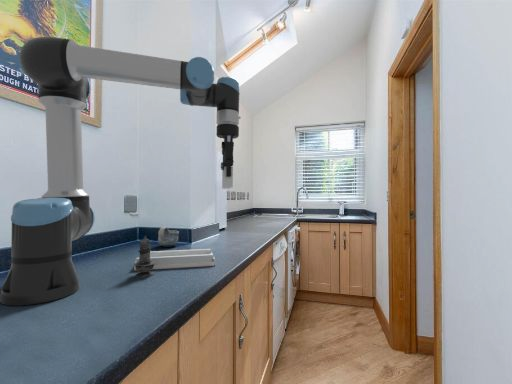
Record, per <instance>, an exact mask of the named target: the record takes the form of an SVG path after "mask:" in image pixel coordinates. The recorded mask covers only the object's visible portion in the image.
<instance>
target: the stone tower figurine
mask: <svg viewBox="0 0 512 384" xmlns="http://www.w3.org/2000/svg"><path fill="white" fill-rule="evenodd" d="M150 251H152V249H151V240H150V239H148V238H147V236H146V235H144V236H143V238H141V240H140V241H139V250H138V252H139V256H140V258H139V257H138V258H139V261H138V262H137V263H135V262H134V263H135V264H133V265H135V268H136V270H135V271H137V272H138V273H136V274H135V277H136V278H150V277H152V276H154V275H155V273H154V272H153V271H152V270H154V269H153V267H154V264H155V262H154V261H151V259H150Z"/></svg>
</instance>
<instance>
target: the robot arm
mask: <svg viewBox="0 0 512 384" xmlns="http://www.w3.org/2000/svg"><path fill="white" fill-rule="evenodd" d="M18 55H19V57H18V58H19V64H20V66H21V68H22V71H23V72H24V73H25V74H26V76H27V77H28V78H29V79H30V80H31V81H33V82H35V84H36V85H37V96H38V98H37V99H38V102H39V104H41V105H42V106H43V107H44V108H45V110H44V111H45V132H46V135H45V136H46V139H45V141H46V161H47V162H46V165H47V168H46V169H47V170H46V171H47V191H46V192H45V193H44V194H42V195H41V197H38V198H28V199H22V200H20V201H17V202H15V203H14V204H13V206H12V214H11V216H10V221H11V251H10V253H11V255H10V256H11V260H10V261H11V263H10V264H11V265H10V268H9V270H8V273H7V276H6V278H5V279H4V282H3V283H4V284H3V285H2V287H1V290H0V303H1V304H2V305H7V306H29V305H37V304H42V303H47V302H52V301H56V300H60V299H63V298H65V297H67V296H71V295H72V294H74V293H77V291H79V289H80V278H79V276H78V273H77V271H76V268H75V265H74V263H73V259H72V250H73V249H72V246H73V245H72V244H73V243H72V242H74V241H76V240H79V239H82V238H83V237H84V236H85V235H87V234H88V233H89V232H90V231H91V230H92V228H93V226H94V224H95V219H96V216H95V212H94V210H93V209H92V207H91V206H90V194H88V193H87V192H86V191H85V190H84V170H83V168H84V167H83V166H84V165H83V141H82V140H83V138H82V137H83V136H82V135H83V134H82V112H83V111H84V110H86V108H87V106H88V105H87V99H88V98H89V97H90V95H91V90H92V88H91V87H92V86H91V82H90V79H91V80H100V81H109V82H118V83H125V84H133V85H141V86H149V87H158V88H165V89H174V90H179V91H180V92H179V97H180V98H179V99H180V103H181V105H187V106H192V107H193V106H196V107H206V108H207V107H209V108H216V134H215V135H216V137H218V138H219V139H223V141H221V155H222V167H221V169H222V171H221V174H222V177H221V178H222V180H221V184H222V185H221V187H222V189H229V190H230V189H231V188H233V186H234V175H233V174H234V147H235V143H234V139H238V138H239V136H240V127H239V123H240V120H241V118H242V117H241V116H239V115H240V83H239V80H238V79H236V78H234V77H231V76H226V77H225V76H222V77H219V78H218V79H217V81H216V83H214V82H215V69H214V67H213V65H212V63H211V62H210V61H209V60H208V58H205V57H202V56H196V57H193V58H190V60H189V61H183V60H177V59H171V58H164V57H157V56H151V55H145V54H138V53H131V52H125V51H124V52H123V51H119V50H111V49H106V48H105V49H103V48H101V47H100V48H99V47H93V46H87V45H86V46H84V45H79V44H78V42H77V41H75V40H74V39H70V38H64V37H63V38H62V37H55V36H37V37H35V38H31V39H29V40H27V41H26V42H24V44H23V45H22V47H21V49H20V51H19V54H18Z"/></svg>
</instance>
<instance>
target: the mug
mask: <svg viewBox="0 0 512 384" xmlns="http://www.w3.org/2000/svg"><path fill="white" fill-rule="evenodd" d="M179 232H180V231H178V230H175V229H174V230H173V229H171V230H170V229H169V228H168V227H167V226H163V225H162V226H161V227H160V228H159V230H158V231H157V234H158V238H157V242H158V244H159V245H160V246H162V247H166V248H171V247H174V246H175V245H177V243H178V242H179V234H180V233H179Z"/></svg>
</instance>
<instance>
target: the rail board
mask: <svg viewBox="0 0 512 384" xmlns="http://www.w3.org/2000/svg"><path fill="white" fill-rule="evenodd" d="M139 258H140V255H139V256H138V257H136V258H135V262H134V264H135V263H137V262H138V261H139ZM150 259H151V261H154V262H155V264H154V267H153V269H152V270H163V269H166V270H167V269H179V268H181V269H182V268H194V267H195V268H197V267H210V266H211V267H214V265H215V266H216V258H215V256H214V254H213V252H212V249H211V248H198V249H196V248H195V249H179V250H177V249H176V250H175V249H174V250H159V251H158V250H157V251H156V250H153V251H152V250H151V251H150ZM134 264H133V265H134ZM133 271H137V270H136V268H135V265H134V266H133Z"/></svg>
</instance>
